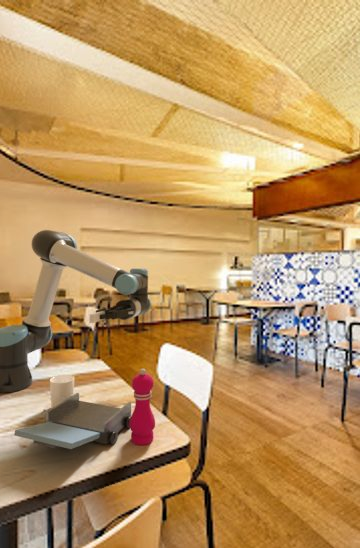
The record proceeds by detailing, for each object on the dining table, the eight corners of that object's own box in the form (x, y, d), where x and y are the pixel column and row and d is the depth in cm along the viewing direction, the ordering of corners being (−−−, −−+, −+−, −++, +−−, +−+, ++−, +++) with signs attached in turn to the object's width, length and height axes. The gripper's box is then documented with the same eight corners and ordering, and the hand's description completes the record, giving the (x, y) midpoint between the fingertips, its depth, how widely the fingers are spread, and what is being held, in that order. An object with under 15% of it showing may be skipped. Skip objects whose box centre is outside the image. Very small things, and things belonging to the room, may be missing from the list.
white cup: (66, 414, 101) (66, 384, 101) (44, 411, 103) (44, 381, 102) (78, 403, 109) (78, 375, 108) (58, 401, 110) (58, 373, 110)
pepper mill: (131, 448, 83) (131, 374, 82) (127, 434, 89) (128, 365, 89) (157, 444, 85) (158, 372, 84) (152, 430, 92) (153, 363, 91)
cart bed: (42, 432, 90) (42, 410, 89) (74, 411, 103) (74, 392, 103) (110, 448, 82) (110, 424, 82) (134, 423, 96) (134, 402, 95)
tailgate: (46, 430, 87) (13, 439, 76) (48, 421, 88) (15, 430, 77) (98, 441, 82) (70, 454, 71) (100, 432, 82) (72, 443, 71)
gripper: (142, 319, 118) (109, 331, 96) (112, 317, 122) (74, 328, 100) (142, 300, 118) (109, 307, 95) (112, 298, 122) (74, 305, 100)
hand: (91, 318), depth 98 cm, fingers closed
